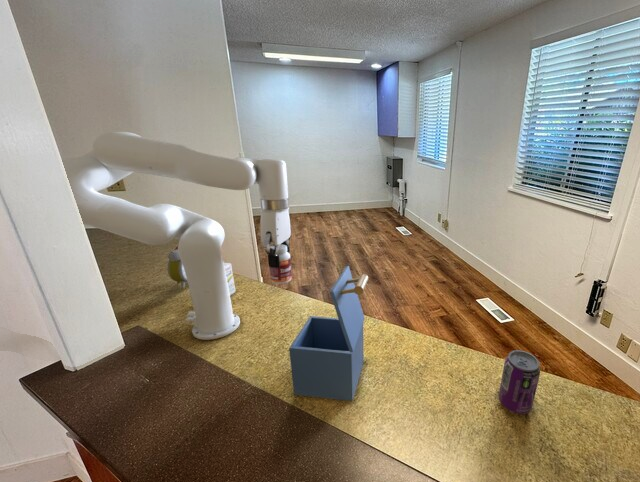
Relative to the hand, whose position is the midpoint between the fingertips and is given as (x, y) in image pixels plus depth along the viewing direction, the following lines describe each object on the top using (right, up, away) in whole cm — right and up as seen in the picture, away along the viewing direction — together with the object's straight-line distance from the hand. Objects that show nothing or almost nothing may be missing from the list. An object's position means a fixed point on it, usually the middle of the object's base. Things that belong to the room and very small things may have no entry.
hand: (279, 262), depth 92 cm
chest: (+19, -27, -18) cm, 38 cm away
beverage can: (+62, -31, -24) cm, 73 cm away
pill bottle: (0, -6, +2) cm, 6 cm away
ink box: (-29, -13, +18) cm, 37 cm away
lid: (+24, -9, -25) cm, 36 cm away
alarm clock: (-46, -10, +26) cm, 54 cm away
